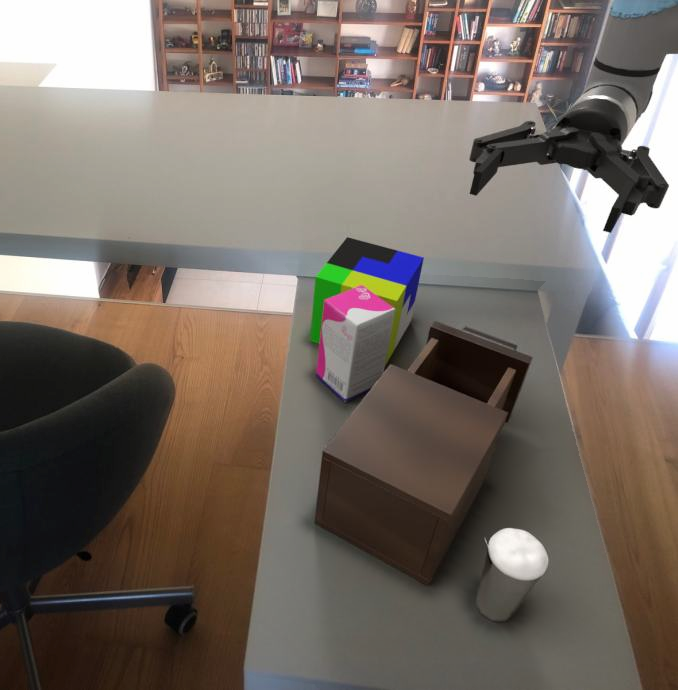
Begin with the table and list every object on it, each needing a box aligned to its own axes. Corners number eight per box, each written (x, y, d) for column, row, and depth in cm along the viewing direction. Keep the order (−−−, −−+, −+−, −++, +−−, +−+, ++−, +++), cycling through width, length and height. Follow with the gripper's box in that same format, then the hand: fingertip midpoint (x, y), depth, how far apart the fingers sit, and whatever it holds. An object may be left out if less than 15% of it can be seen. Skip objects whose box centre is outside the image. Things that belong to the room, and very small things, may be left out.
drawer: (436, 357, 84) (451, 298, 79) (524, 391, 80) (546, 332, 74) (372, 446, 74) (384, 386, 68) (469, 492, 69) (490, 432, 63)
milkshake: (452, 580, 63) (477, 514, 56) (512, 581, 63) (544, 515, 56) (464, 628, 59) (492, 564, 53) (528, 630, 59) (563, 565, 53)
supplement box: (383, 384, 82) (397, 308, 75) (344, 404, 80) (355, 327, 73) (351, 357, 86) (362, 282, 79) (313, 375, 84) (321, 299, 76)
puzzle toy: (410, 321, 91) (423, 257, 85) (385, 366, 85) (396, 300, 78) (339, 299, 95) (347, 237, 89) (310, 341, 89) (315, 276, 82)
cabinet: (376, 436, 76) (390, 363, 69) (481, 485, 71) (508, 412, 64) (313, 523, 68) (322, 450, 61) (427, 586, 62) (451, 515, 55)
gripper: (696, 184, 81) (660, 270, 68) (484, 134, 92) (419, 200, 79) (725, 121, 76) (692, 201, 63) (498, 77, 87) (431, 137, 74)
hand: (540, 201), depth 71 cm, fingers open, 13 cm apart
